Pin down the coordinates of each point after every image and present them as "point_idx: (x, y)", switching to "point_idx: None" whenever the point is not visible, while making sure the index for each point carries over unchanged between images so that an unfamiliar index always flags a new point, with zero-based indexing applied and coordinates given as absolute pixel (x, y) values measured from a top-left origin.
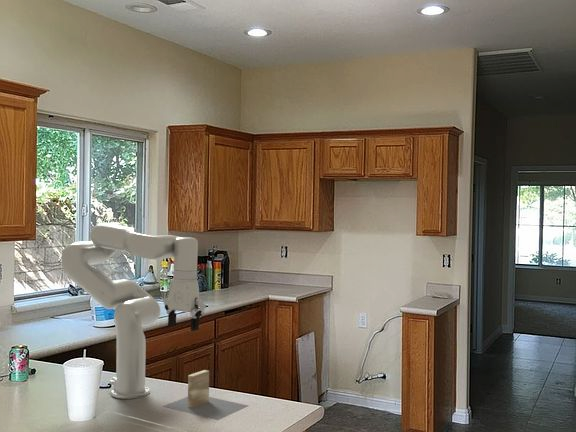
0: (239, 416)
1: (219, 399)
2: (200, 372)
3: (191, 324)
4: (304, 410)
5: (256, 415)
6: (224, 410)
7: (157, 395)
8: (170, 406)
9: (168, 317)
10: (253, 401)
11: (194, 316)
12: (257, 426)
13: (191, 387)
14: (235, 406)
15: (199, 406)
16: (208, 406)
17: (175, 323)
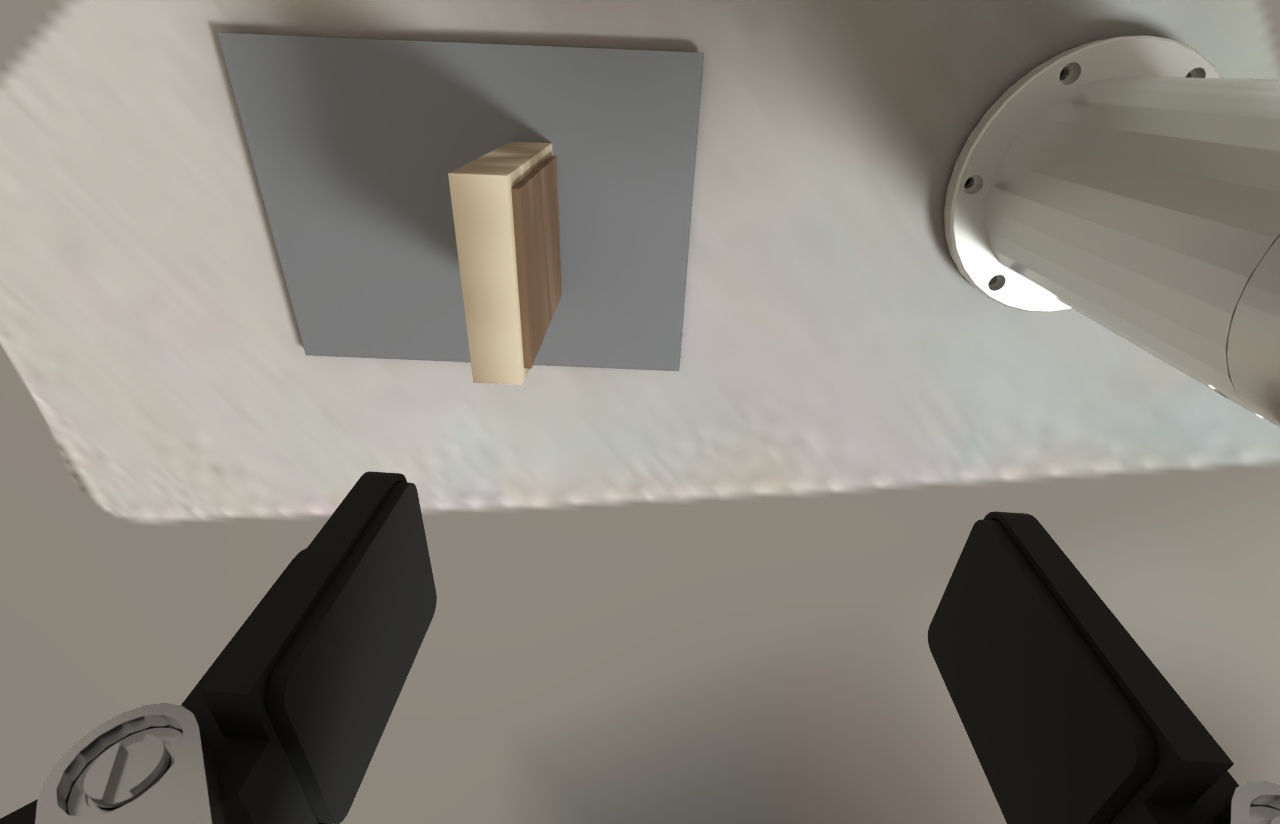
0: (225, 202)
1: None
2: (491, 309)
3: (328, 554)
4: (100, 447)
5: (179, 268)
6: (334, 215)
7: (881, 254)
8: (652, 82)
9: (1151, 671)
10: (369, 437)
11: (111, 775)
12: (9, 108)
13: (493, 160)
14: (344, 307)
15: None
16: None
17: (940, 653)
